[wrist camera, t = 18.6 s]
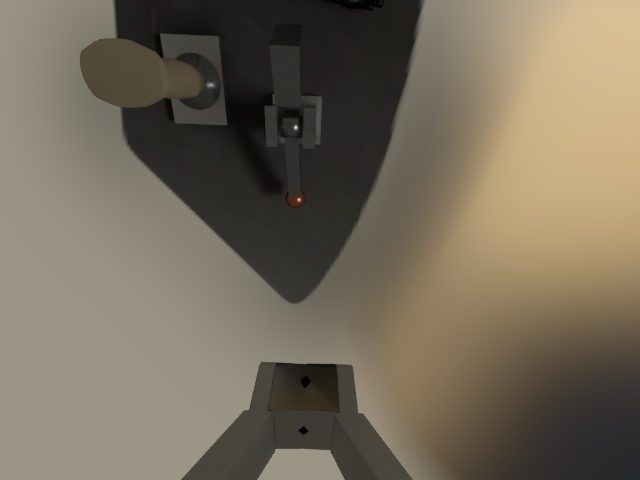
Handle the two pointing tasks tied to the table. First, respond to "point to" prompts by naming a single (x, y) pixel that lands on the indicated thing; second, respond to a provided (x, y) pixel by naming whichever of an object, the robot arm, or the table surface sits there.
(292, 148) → the lever
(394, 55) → the table surface
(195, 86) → the handle
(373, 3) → the valve
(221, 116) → the frame
